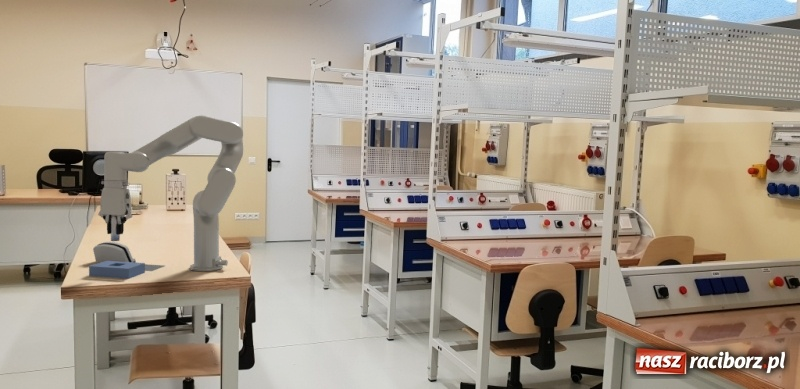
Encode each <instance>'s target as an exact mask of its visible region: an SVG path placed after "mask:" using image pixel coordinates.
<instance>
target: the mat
mask: <svg viewBox="0 0 800 389" xmlns="http://www.w3.org/2000/svg"><path fill="white" fill-rule="evenodd" d="M164 267H165V265H161V264H146V263H145V272H146V271H147V272H154V271H156V270H159V269H161V268H164Z"/></svg>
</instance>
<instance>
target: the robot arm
mask: <svg viewBox="0 0 800 389" xmlns="http://www.w3.org/2000/svg"><path fill="white" fill-rule="evenodd" d="M243 137H244V130H243V128H242V127H241V125H239V124H238V123H237V122H234V121H228V120H223V119H219V118H215V117H211V116H206V115H197V116H194V117H193V116H192V118H189V119H188V120H186V121H184V122H183V123H181V124H179V125H177V126H176V127H173V128H172V129H169V131H166V132H165V133H163V134H161V135H159V137H157V138H155V139H154V140H152V141H150V142H149V143H146V144H145V145H142V146H141V147H140V148H138V149H136V150H134V151H133V152H132V151H131V152H124V151H107V152H105V154H104V156H103V157H104V160H103V161H104V162H103V163H104V165H103V166H104V167H103V168H104V169H103V172H104V173H103V175H104V177H103V178H104V179H103V180H104V182H103V185H104V186H103V188H102V190H101V196H100V202H99V203H100V205H99V206H100V208H99V209H100V210H99V212H98V216H99V217H100V218H102V219H103V220H104V221H105V224H106V232H107V233H106V234H107V235H111V215H115V216H117V219H118V224H117V225H116V234H117V235H120V236H121V235H123V234H124V229H125V228H124V227H125V226H124V225H125V223H126V222H127V220H130V219H131V218H133V214H132V198H131V192H130V189H129V188H128V187H129V186H130V182H128V179H127V178H128V177H127V176H128V173H127V172H133V173H143V172H145V171H147V170H148V169H149V167H150V166H151V165H153V164H154V163H156V162H158V161H159V160H160V161H161V159H164V158H165V157H168V156H172V155H175V154H177V153H179V152H181V151H182V150H184V149H186V148H188V147H189V146H191V145H192V144H194V143H197V142H198V141H199V140H201V139H206V140H209V141H213V142H220V143H221V150H220V153H219V154H218V156H217V159H216V161H215V162H214V164H213V165H212V167H211V169H210V171H209V172H208V175H207V184H206V185H205V187H204V189H203V190H200V191H198V192H197V193H196V194H195V195H194V197H193V200H192V212H193V213H192V214H193V263H192V264H190V266H189V269H190V270H191V271H194V272H214V271H219V270H221V269H223V267H224V266H225V267H226V266H228V264H229V263H228V262H229V261H228V260H227V259H223V258H222V256H221V255H220V253H219V252H220V249H219V248H220V234H219V233H220V227H219V226H220V221H219V220H220V218H219V217H220V216H219V214H220V213H221V212H222V210H223V209H224V207H225V206H226V203H227V202H228V200H229V197H230V196H231V194H232V193H233V190H234V188H235V185H236V182H237V179H236V174H235V173H236V171H237V168H238V167H239V165H240V163H241V161H242V159H243V155H244V145H243V144H244V143H243Z"/></svg>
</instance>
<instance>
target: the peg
mask: <svg viewBox="0 0 800 389" xmlns="http://www.w3.org/2000/svg"><path fill="white" fill-rule="evenodd" d="M117 224H118V219H117V216H115V215H111V234H110V242H120V241H121V240H120V239H121V234H120V235H117V234H116V225H117Z"/></svg>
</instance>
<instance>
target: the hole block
mask: <svg viewBox="0 0 800 389" xmlns="http://www.w3.org/2000/svg"><path fill="white" fill-rule="evenodd" d="M145 264H146V263H145V262H119V261H104V262H97V263H95V264H92V265H89V266H88V275H89V276H88V277H96V278H97V277H99V278H112V279H115V278H116V279H126V280H127V279H128V280H129V279H131V278H135V277H137V276H139V275H142V274H145V273H146V271H145Z"/></svg>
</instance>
